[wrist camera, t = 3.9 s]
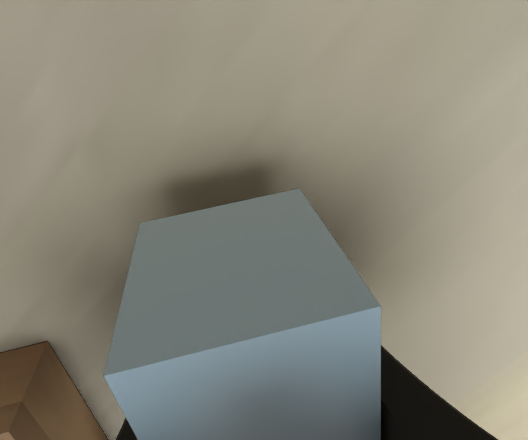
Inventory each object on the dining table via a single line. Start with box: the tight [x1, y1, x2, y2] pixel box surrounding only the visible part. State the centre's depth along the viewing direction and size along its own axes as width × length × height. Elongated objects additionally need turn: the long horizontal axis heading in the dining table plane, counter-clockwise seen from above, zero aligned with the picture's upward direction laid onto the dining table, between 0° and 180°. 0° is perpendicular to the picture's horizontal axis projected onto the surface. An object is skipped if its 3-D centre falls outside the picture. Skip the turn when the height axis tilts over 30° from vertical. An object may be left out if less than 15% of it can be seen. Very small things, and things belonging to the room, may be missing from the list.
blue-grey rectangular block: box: [104, 188, 381, 440], centre depth 9 cm, size 8×4×4 cm, turn 9°
